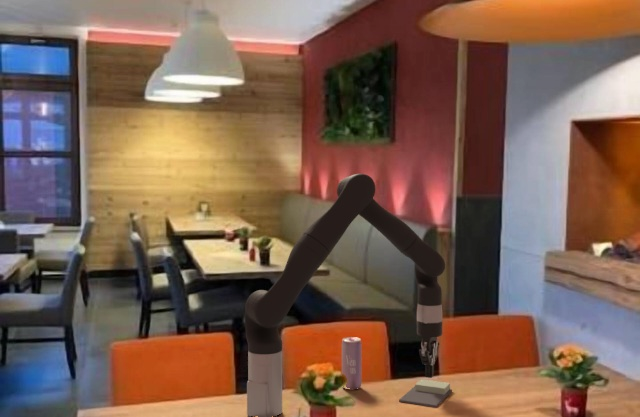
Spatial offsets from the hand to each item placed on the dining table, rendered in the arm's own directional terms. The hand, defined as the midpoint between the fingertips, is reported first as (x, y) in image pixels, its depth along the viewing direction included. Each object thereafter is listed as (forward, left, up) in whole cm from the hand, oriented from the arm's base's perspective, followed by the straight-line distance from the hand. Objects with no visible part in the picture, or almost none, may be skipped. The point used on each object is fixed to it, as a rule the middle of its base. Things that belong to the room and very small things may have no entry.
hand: (429, 376), depth 198 cm
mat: (-3, 0, -5) cm, 6 cm away
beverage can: (-5, +23, -5) cm, 24 cm away
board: (-1, 0, -4) cm, 4 cm away
